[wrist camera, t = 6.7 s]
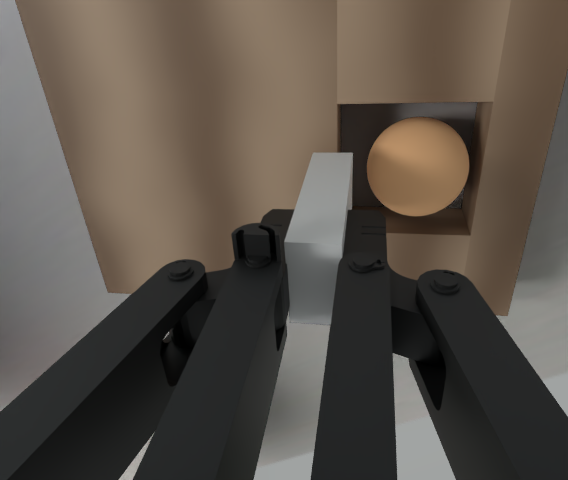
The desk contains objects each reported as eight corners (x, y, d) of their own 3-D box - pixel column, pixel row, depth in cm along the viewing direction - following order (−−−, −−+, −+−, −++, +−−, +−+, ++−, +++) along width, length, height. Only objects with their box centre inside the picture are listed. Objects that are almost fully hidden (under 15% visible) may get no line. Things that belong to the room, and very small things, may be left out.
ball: (402, 183, 22) (346, 211, 20) (410, 99, 20) (347, 121, 18) (480, 209, 20) (424, 245, 18) (497, 116, 18) (436, 144, 15)
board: (128, 266, 27) (107, 292, 25) (52, -7, 20) (14, -3, 18) (495, 283, 23) (507, 315, 21) (565, -40, 16) (593, -39, 14)
